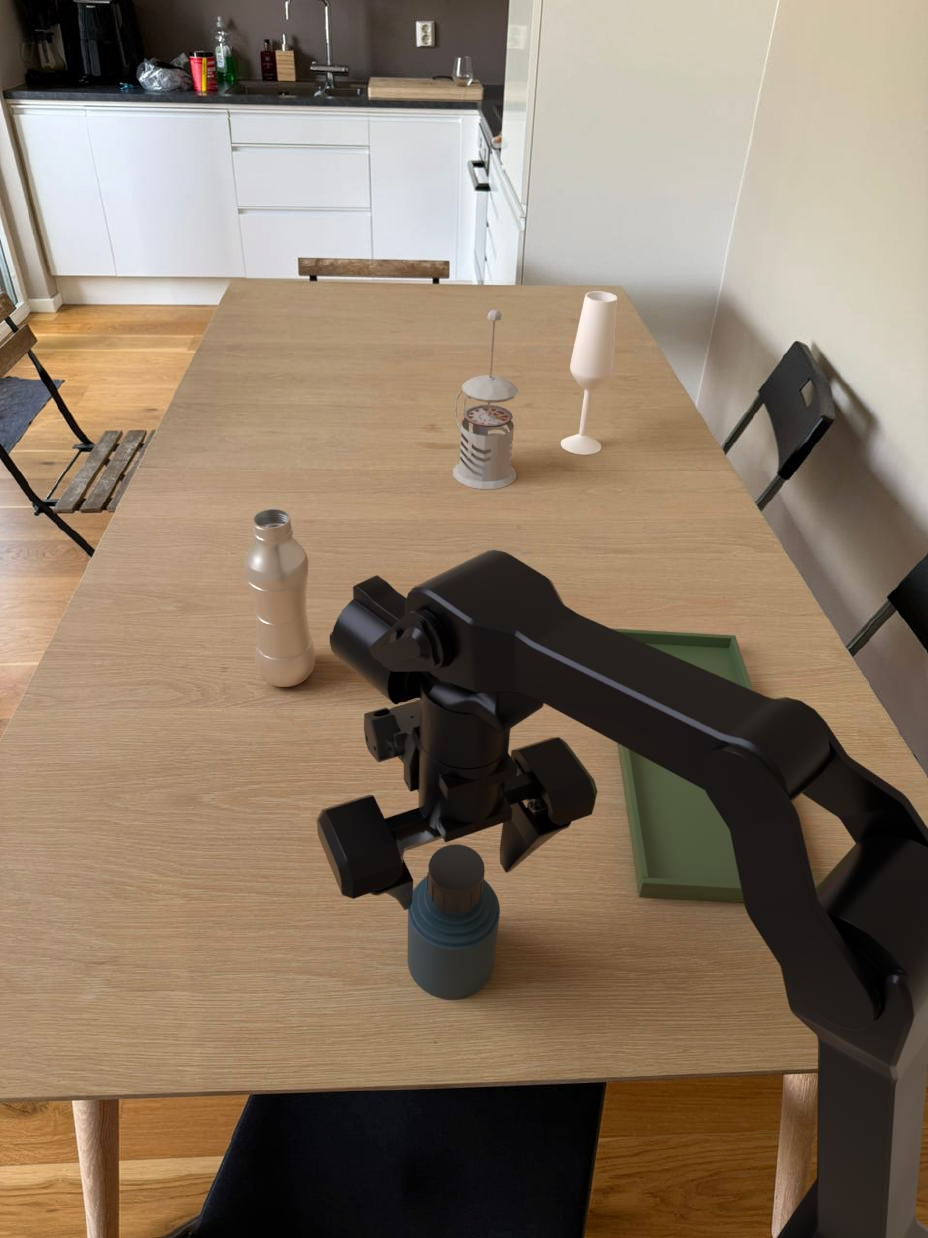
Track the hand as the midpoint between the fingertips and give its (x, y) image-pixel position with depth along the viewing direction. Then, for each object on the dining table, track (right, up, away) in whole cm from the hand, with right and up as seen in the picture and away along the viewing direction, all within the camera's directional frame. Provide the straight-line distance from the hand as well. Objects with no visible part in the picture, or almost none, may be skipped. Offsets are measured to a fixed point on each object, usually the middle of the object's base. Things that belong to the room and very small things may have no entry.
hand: (455, 885), depth 66 cm
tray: (+24, +6, +25) cm, 35 cm away
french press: (+3, +42, +71) cm, 83 cm away
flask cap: (0, 0, 0) cm, 1 cm away
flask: (0, -8, +6) cm, 10 cm away
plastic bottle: (-19, +13, +32) cm, 40 cm away
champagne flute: (+20, +48, +79) cm, 95 cm away
